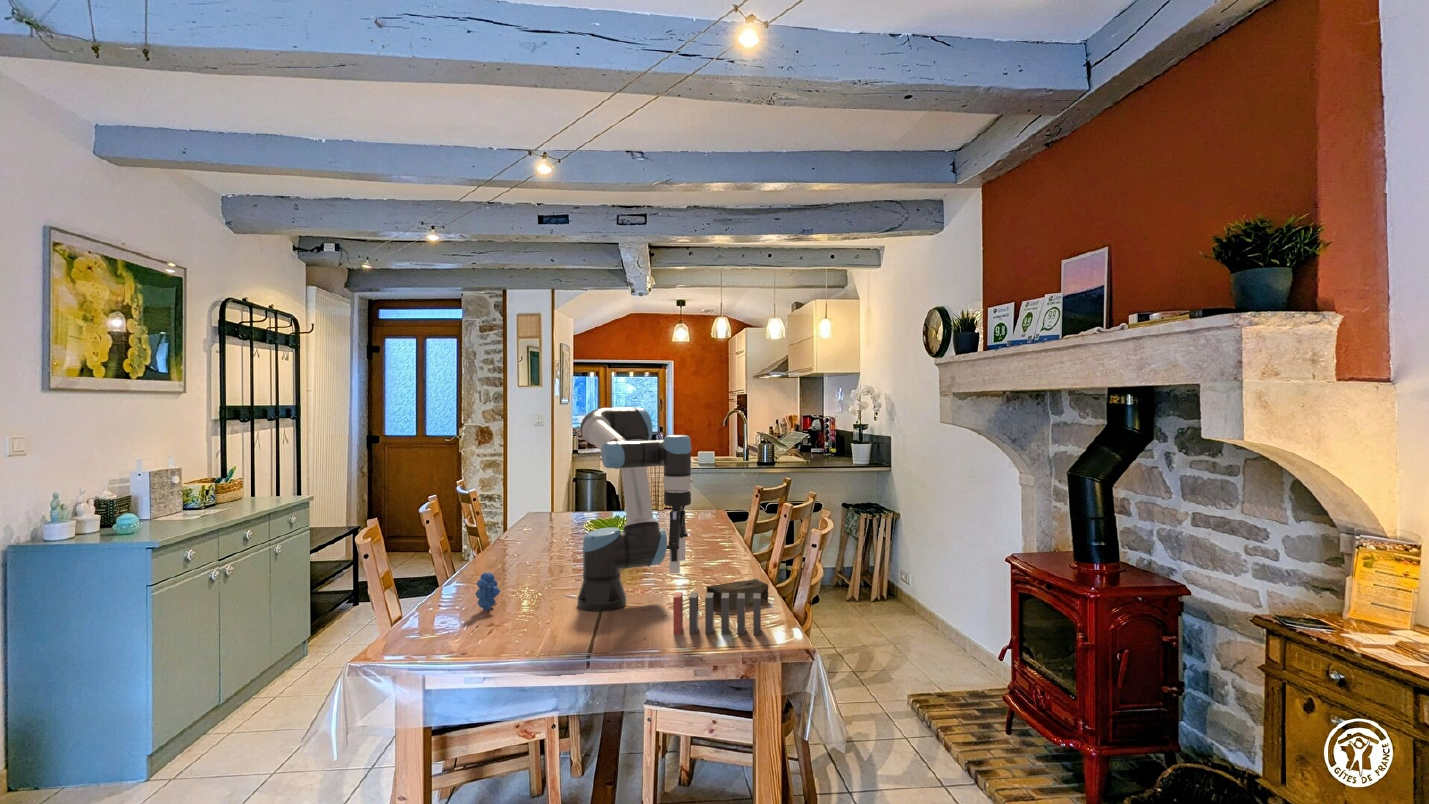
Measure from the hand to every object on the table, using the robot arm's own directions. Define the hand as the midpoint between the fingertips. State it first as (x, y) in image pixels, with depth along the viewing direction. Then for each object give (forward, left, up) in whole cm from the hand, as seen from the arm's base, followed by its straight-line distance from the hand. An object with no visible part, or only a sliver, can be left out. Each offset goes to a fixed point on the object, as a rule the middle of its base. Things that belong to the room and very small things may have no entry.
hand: (677, 566), depth 192 cm
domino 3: (+13, 0, -18) cm, 22 cm away
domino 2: (+9, 0, -18) cm, 20 cm away
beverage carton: (+16, +26, -18) cm, 35 cm away
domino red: (0, 0, -18) cm, 18 cm away
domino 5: (+22, 0, -18) cm, 28 cm away
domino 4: (+18, 0, -18) cm, 25 cm away
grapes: (-60, +15, -18) cm, 64 cm away
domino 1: (+5, 0, -18) cm, 18 cm away
